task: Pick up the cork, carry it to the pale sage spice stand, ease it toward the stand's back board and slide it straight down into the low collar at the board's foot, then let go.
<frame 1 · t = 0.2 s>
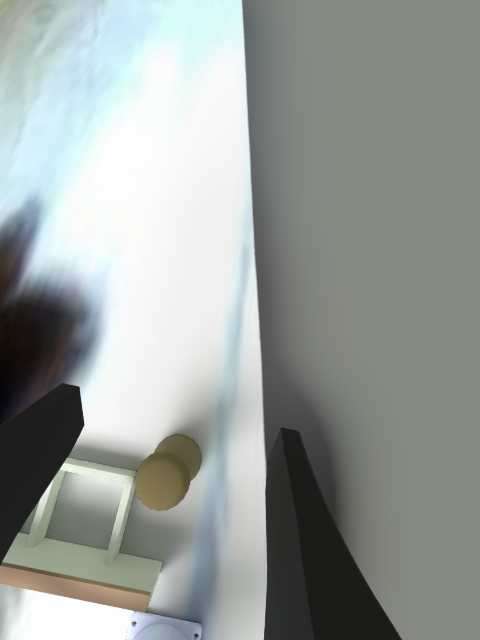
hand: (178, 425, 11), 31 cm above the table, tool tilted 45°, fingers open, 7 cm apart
cork: (177, 459, 39), on the table
spice stand: (89, 506, 37), on the table
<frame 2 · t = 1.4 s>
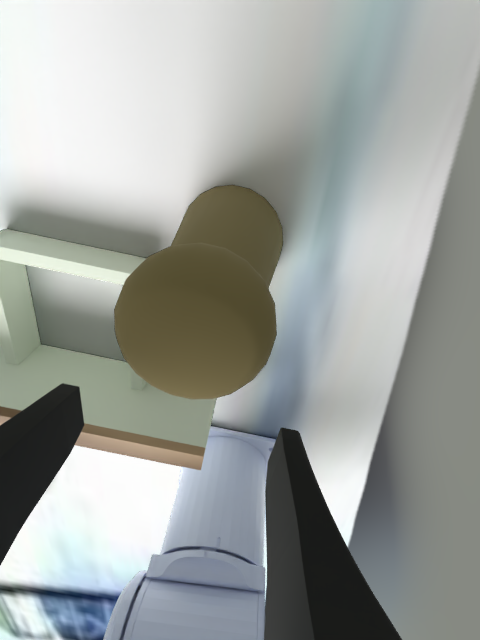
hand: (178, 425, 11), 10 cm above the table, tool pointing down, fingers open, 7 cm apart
cork: (231, 239, 18), on the table
spice stand: (88, 310, 22), on the table
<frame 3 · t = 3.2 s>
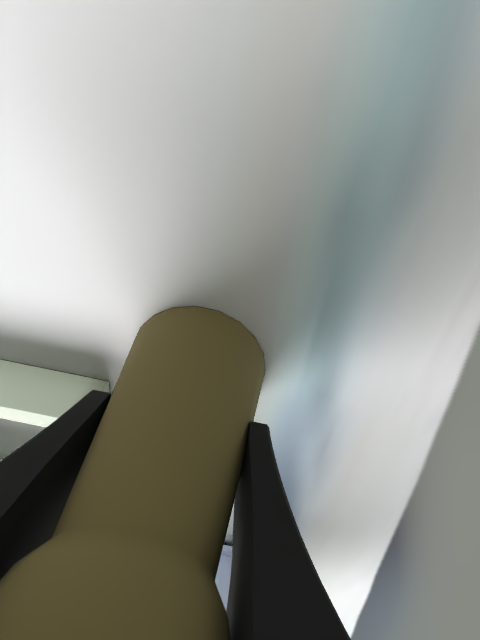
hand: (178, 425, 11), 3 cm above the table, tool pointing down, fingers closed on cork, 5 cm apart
cork: (199, 361, 14), on the table, touching gripper
spice stand: (29, 426, 18), on the table
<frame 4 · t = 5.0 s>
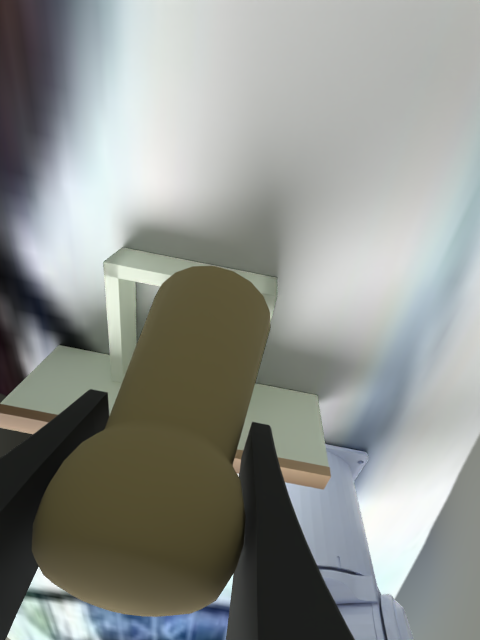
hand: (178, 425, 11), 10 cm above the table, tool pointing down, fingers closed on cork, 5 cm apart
cork: (212, 318, 16), point 4 cm above the table, touching gripper
spice stand: (193, 327, 21), on the table
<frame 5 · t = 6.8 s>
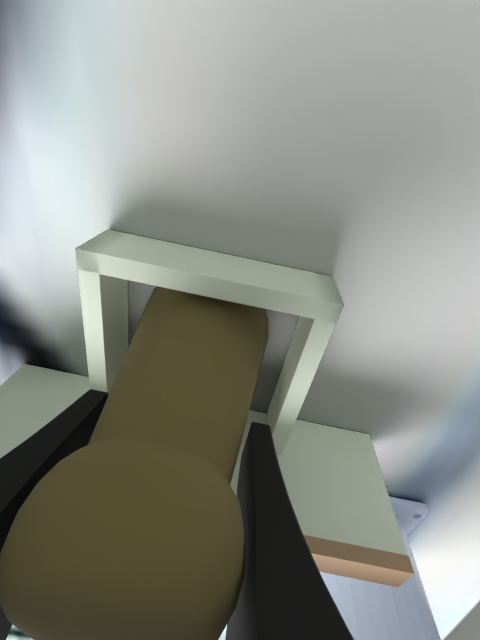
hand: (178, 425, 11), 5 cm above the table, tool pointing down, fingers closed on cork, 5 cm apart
cork: (206, 326, 15), resting in spice stand, touching gripper
spice stand: (206, 343, 15), on the table
when the fingers open (5 cm above the table, at t = 8.0 s): cork stays where it is, resting in spice stand.
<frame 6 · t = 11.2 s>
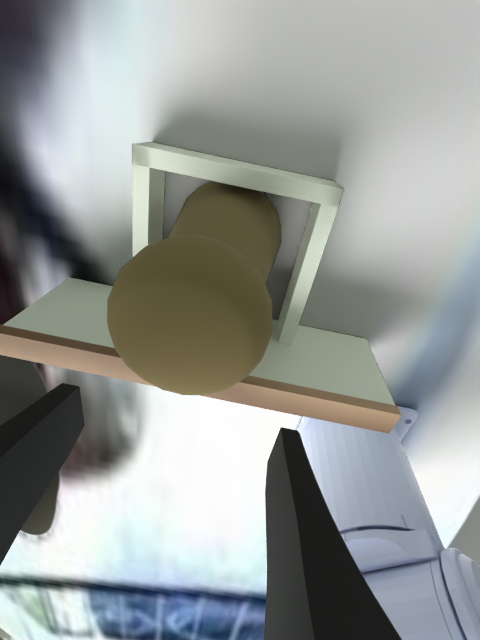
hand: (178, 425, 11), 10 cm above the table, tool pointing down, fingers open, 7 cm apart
cork: (229, 234, 18), resting in spice stand
spice stand: (228, 250, 18), on the table
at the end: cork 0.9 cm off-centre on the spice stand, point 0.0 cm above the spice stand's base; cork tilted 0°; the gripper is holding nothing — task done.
